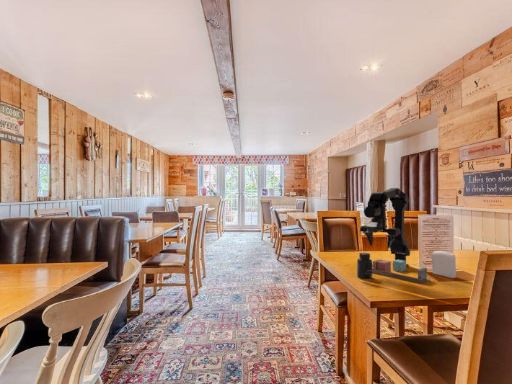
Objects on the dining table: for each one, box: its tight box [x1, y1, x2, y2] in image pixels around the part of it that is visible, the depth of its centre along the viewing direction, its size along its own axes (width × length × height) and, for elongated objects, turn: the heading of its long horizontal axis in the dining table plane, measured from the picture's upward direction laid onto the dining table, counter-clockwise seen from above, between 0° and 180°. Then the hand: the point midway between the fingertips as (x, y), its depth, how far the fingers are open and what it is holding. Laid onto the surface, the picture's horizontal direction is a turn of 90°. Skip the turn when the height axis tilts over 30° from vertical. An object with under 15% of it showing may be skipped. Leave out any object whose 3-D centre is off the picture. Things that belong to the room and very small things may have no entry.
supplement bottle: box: [356, 252, 373, 280], centre depth 136 cm, size 7×7×12 cm
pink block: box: [377, 259, 392, 273], centre depth 144 cm, size 6×4×6 cm, turn 129°
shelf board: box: [372, 258, 424, 285], centre depth 138 cm, size 11×24×6 cm, turn 39°
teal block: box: [392, 259, 407, 273], centre depth 149 cm, size 6×4×6 cm, turn 129°
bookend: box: [417, 267, 430, 284], centre depth 130 cm, size 7×2×5 cm, turn 129°
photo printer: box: [431, 250, 457, 279], centre depth 139 cm, size 10×4×12 cm, turn 26°
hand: (379, 246), depth 144 cm, fingers open, 9 cm apart
